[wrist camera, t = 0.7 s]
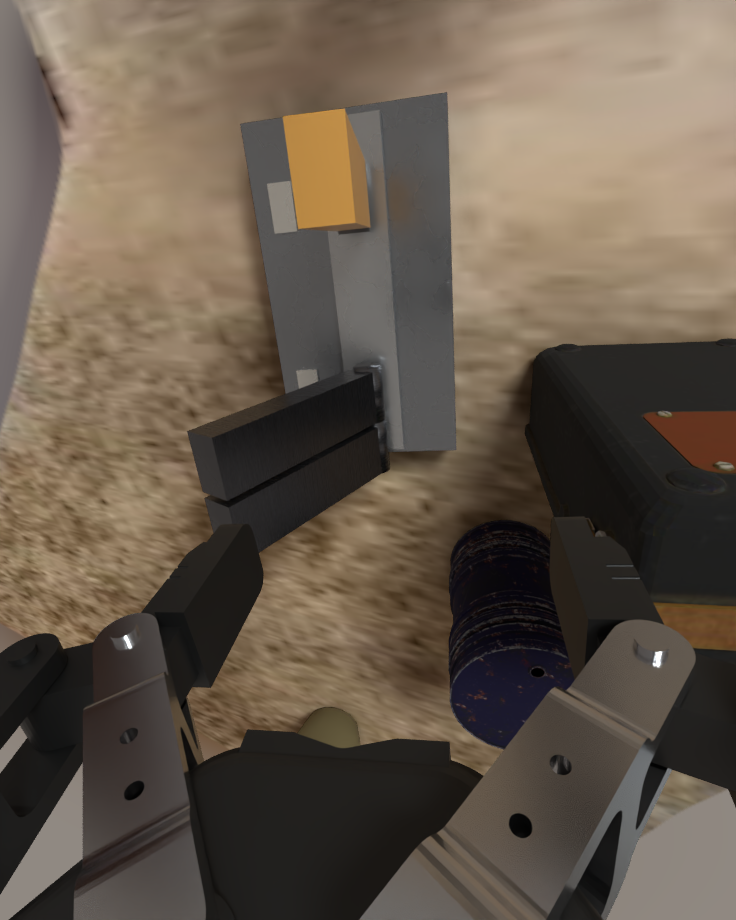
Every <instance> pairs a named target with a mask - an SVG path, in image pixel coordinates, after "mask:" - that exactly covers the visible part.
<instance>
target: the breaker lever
mask: <svg viewBox="0 0 736 920" xmlns="http://www.w3.org/2000/svg"><path fill="white" fill-rule="evenodd" d="M283 123H284V131H285V138H286V145H287V152H288V159H289V167H290V174H291V181H292V188H293V196H294V203H295V210H296V217H297V224H298V229H306V230H322V231H338V235H341V234H351V233H361V232H369V231H370V228H371V226H370V214H369V202H368V191H367V179H366V167H365V159H364V156H363V154H362V151H361V149H360V146H359V144H358V141H357V139H356V136H355V133H354V131H353V128H352V126H351V123H350V121H349V118H348V116H347V113H346V111H345V108H344V109H337V110H329V111H321V112H313V113H305V114H297V115H289V116H283Z"/></svg>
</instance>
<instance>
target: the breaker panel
mask: <svg viewBox="0 0 736 920" xmlns="http://www.w3.org/2000/svg"><path fill="white" fill-rule="evenodd" d="M341 109H344V108H341ZM335 110H337V109H335ZM328 111H329V110H328ZM345 111H346V113H347V116H348V118H349V121H350V123H351V126H352V128H353V131H354V133H355V136H356V139H357V141H358V144H359V146H360V149H361V151H362V154H363V156H364V159H365V167H366V179H367V191H368V202H369V214H370V226H371V228H370V231H369V232H361V233H351V234H341V235H338V231H322V230H306V229H298V224H297V217H296V210H295V203H294V196H293V188H292V181H291V174H290V167H289V159H288V152H287V145H286V138H285V131H284V123H283V117H282V118H276V119H269V120H263V121H256V122H250V123H243V124H240V125H241V131H242V137H243V143H244V149H245V155H246V161H247V167H248V173H249V179H250V184H251V190H252V196H253V202H254V208H255V214H256V220H257V226H258V232H259V238H260V244H261V250H262V256H263V262H264V268H265V274H266V280H267V285H268V291H269V297H270V303H271V309H272V315H273V321H274V327H275V333H276V339H277V345H278V351H279V357H280V363H281V369H282V375H283V380H284V386H285V392H286V394H284V395H281V396H279V397H276V398H273V399H271V400H268V401H265V402H263V403H260V404H258V405H255V406H252V407H250V408H247V409H244V410H242V411H239V412H237V413H234V414H231V415H229V416H226V417H223V418H221V419H218V420H216V421H213V422H210V423H208V424H205V425H202V426H200V427H197V428H194V429H192V430H189V431H187V432H188V436H189V440H190V444H191V448H192V452H193V455H194V459H195V463H196V467H197V471H198V475H199V479H200V482H201V486H202V490H203V492H205V493H207V494H210V496H208V497H206V498H205V502H206V505H207V509H208V513H209V517H210V521H211V525H212V529H213V532H215V531H216V530H217V528H218V527H219V526H220V525H222V524H249V525H250V526H251V528H252V531H253V534H254V538H255V542H256V545H257V549H258V553H259V552H261V551H262V550H264V549H265V548H267V547H268V546H270V545H271V544H273V543H275V542H276V541H278V540H279V539H281V538H282V537H284V536H285V535H287V534H288V533H290V532H292V531H293V530H295V529H296V528H298V527H299V526H301V525H302V524H304V523H306V522H307V521H309V520H310V519H312V518H313V517H315V516H316V515H318V514H319V513H321V512H323V511H324V510H326V509H327V508H329V507H330V506H332V505H333V504H335V503H336V502H338V501H340V500H341V499H343V498H344V497H346V496H347V495H349V494H350V493H352V492H354V491H355V490H357V489H358V488H360V487H361V486H363V485H364V484H366V483H367V482H369V481H371V480H372V479H374V478H375V477H377V476H378V475H380V474H382V473H385V472H387V471H388V470H389V469H390V461H389V452H401V451H439V450H456V417H455V377H454V338H453V298H452V259H451V219H450V180H449V140H448V102H447V92H446V93H439V94H433V95H426V96H420V97H413V98H406V99H400V100H393V101H387V102H380V103H374V104H367V105H361V106H354V107H348V108H345Z"/></svg>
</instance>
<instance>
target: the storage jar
mask: <svg viewBox="0 0 736 920" xmlns="http://www.w3.org/2000/svg"><path fill="white" fill-rule="evenodd" d="M449 593H450V605H451V610H452V614H453V625H452V628H451V632H450V637H449V674H450V704H451V708H452V711H453V713H454V715H455V717H456V719H457V720H458V722H459V723H460V724H461V725H462V727H463V728H464V729H465V730H466V731H468V732H469V733H470V734H471V735H473V736H474V737H476V738H477V739H479V740H481V741H482V742H485V743H487V744H489V745H491V746H494V747H497V748H500V749H505V748H506V747H507V745H508V744H509V743H510V741H511V740H512V739H513V738H514V736H515V735H516V734H517V732H518V731H519V730H520V728H521V727H522V726H523V725H524V723H525V722H526V721H527V719H528V718H529V717H530V716H531V714H532V713H533V712H534V710H535V709H536V708H537V706H538V705H539V704H540V703H541V701H542V700H543V699H544V697H545V696H546V695H547V694H548V692H549V691H550V690H551V689H553V688H554V687H557V686H559V687H561V688H562V689H564V690H567V689H568V688H569V687H570V686H571V685H572V683H573V682H574V681H575V679H574V676H573V672H572V668H571V664H570V660H569V656H568V653H567V649H566V645H565V641H564V637H563V633H562V629H561V626H560V622H559V618H558V614H557V610H556V606H555V603H554V599H553V595H552V590H551V583H550V540H549V539H548V538H547V537H546V536H545V535H544V534H543V533H542V532H541V531H539V530H537V529H536V528H534V527H532V526H530V525H528V524H525V523H521V522H517V521H511V520H499V521H491V522H487V523H484V524H481V525H479V526H476V527H474V528H473V529H471V530H469V531H468V532H467V533H465V534H464V535H463V536H462V537H461V538H460V539H459V541H458V542H457V544H456V545H455V547H454V549H453V552H452V555H451V571H450V576H449Z"/></svg>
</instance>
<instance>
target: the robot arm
mask: <svg viewBox="0 0 736 920" xmlns="http://www.w3.org/2000/svg"><path fill="white" fill-rule="evenodd" d="M550 583H551V590H552V595H553V599H554V603H555V606H556V610H557V614H558V618H559V622H560V626H561V629H562V633H563V637H564V641H565V645H566V649H567V653H568V656H569V660H570V664H571V668H572V672H573V676H574V679H575V681H574V682H573V683H572V685H571V686H570V687H569V688H568V689H567V690H564V689H562V688H561V687H559V686H557V687H554V688H553V689H551V690H550V691H549V692H548V694H547V695H546V696H545V697H544V699H543V700H542V701H541V703H540V704H539V705H538V706H537V708H536V709H535V710H534V712H533V713H532V714H531V716H530V717H529V718H528V719H527V721H526V722H525V723H524V725H523V726H522V727H521V728H520V730H519V731H518V732H517V734H516V735H515V736H514V738H513V739H512V740H511V741H510V743H509V744H508V745H507V747H506V748H505V749H504V750H503V752H502V753H501V754H500V756H499V757H498V758H497V760H496V761H495V762H494V763H493V765H492V766H491V767H490V769H489V770H488V771H487V773H486V774H485V775H484V776H483V775H481V774H480V773H478V772H476V771H475V770H473V769H471V768H469V767H467V766H465V765H463V764H460V763H458V762H455V761H452V760H451V755H450V744H449V742H443V741H427V740H410V739H392V740H387V741H381V742H376V743H371V744H365V745H360V746H354V747H349V748H338V747H335V746H332V745H329V744H326V743H323V742H320V741H317V740H315V739H312V738H309V737H306V736H303V735H300V734H297V733H294V732H280V731H263V730H247V732H246V734H245V737H244V739H243V742H242V744H241V747H239V748H235V749H232V750H228V751H225V752H223V753H221V754H218V755H216V756H213V757H211V758H210V759H208V760H206V761H204V759H203V755H202V751H201V747H200V743H199V739H198V735H197V730H196V726H195V722H194V718H193V714H192V710H191V706H190V703H189V700H188V698H187V695H188V693H189V691H190V690H191V688H192V687H206V688H211V686H212V685H213V683H214V681H215V679H216V677H217V675H218V673H219V671H220V669H221V667H222V665H223V663H224V661H225V659H226V657H227V655H228V654H229V652H230V650H231V648H232V646H233V644H234V642H235V640H236V638H237V636H238V634H239V632H240V630H241V628H242V626H243V624H244V623H245V621H246V619H247V617H248V615H249V613H250V611H251V609H252V607H253V605H254V603H255V601H256V599H257V597H258V595H259V593H260V591H261V589H262V585H263V568H262V564H261V560H260V557H259V553H258V549H257V545H256V542H255V538H254V534H253V531H252V528H251V526H250V525H249V524H222V525H220V526H219V527H218V528H217V530H216V531H215V532H214V534H213V535H212V536H211V537H210V539H209V540H208V541H207V542H203V543H202V544H200V545H199V546H197V547H196V548H195V549H193V550H192V551H190V552H189V553H188V554H187V555H186V556H185V558H184V559H183V560H182V561H181V563H180V564H179V565H178V569H175V570H174V572H173V573H172V574H171V575H170V579H167V580H166V582H165V583H164V584H163V585H162V587H161V588H160V589H159V591H158V592H157V593H156V594H155V596H154V597H153V598H152V599H151V601H150V602H149V603H148V604H147V606H146V607H145V608H144V609H143V611H142V612H141V613H135V614H131V615H127V616H124V617H122V618H120V619H118V620H116V621H114V622H112V623H111V624H109V625H108V626H107V627H105V628H104V629H103V630H102V631H101V632H100V633H99V634H98V636H97V637H96V638H95V640H94V642H93V643H89V644H84V645H80V646H75V647H71V648H67V649H63V647H62V645H61V643H60V642H59V640H58V638H57V637H56V636H55V635H53V634H48V633H43V634H37V635H33V636H30V637H27V638H24V639H22V640H20V641H18V642H16V643H14V644H13V645H11V646H10V647H8V648H7V649H5V650H4V651H3V652H1V653H0V749H1V748H2V747H3V746H4V744H5V743H6V742H7V741H8V739H9V738H10V737H11V736H12V734H13V733H14V732H15V731H16V729H17V728H18V727H19V726H21V728H22V729H23V731H24V733H25V734H26V736H27V739H26V740H25V742H24V743H23V744H22V746H21V747H20V748H19V750H18V751H17V752H16V754H15V755H14V756H13V758H12V759H11V760H10V761H9V763H8V764H7V765H6V767H5V768H4V769H3V771H2V772H1V773H0V894H1V893H2V891H3V889H4V887H5V886H6V885H7V883H8V881H9V880H10V878H11V876H12V875H13V873H14V872H15V870H16V868H17V867H18V865H19V864H20V862H21V860H22V859H23V857H24V855H25V854H26V852H27V851H28V849H29V848H30V846H31V844H32V843H33V841H34V840H35V838H36V836H37V835H38V833H39V831H40V830H41V828H42V827H43V825H44V823H45V822H46V820H47V819H48V817H49V815H50V814H51V812H52V811H53V809H54V807H55V806H56V804H57V802H58V801H59V799H60V798H61V796H62V795H63V793H64V791H65V790H66V788H67V786H68V785H69V783H70V782H71V780H72V778H73V777H74V775H75V773H76V772H77V770H78V769H79V767H80V766H81V764H82V763H83V859H82V860H81V861H79V862H78V863H77V864H76V865H74V866H73V867H72V868H71V869H70V870H68V871H67V872H66V873H65V874H64V875H62V876H61V877H60V878H59V879H58V880H56V881H55V882H54V883H53V884H51V885H50V886H49V887H48V888H47V889H45V890H44V891H43V892H42V893H40V894H39V895H38V896H37V897H36V898H35V899H33V900H32V901H31V902H30V903H28V904H27V905H26V906H25V907H24V908H22V909H21V910H20V911H19V912H17V913H16V914H15V915H14V916H13V917H11V918H10V919H9V920H606V919H607V917H608V915H609V913H610V911H611V909H612V906H613V904H614V902H615V900H616V898H617V896H618V893H619V891H620V888H621V886H622V884H623V881H624V878H625V876H626V873H627V870H628V867H629V864H630V861H631V857H632V855H633V852H634V849H635V847H636V844H637V842H638V840H639V838H640V836H641V833H642V831H643V829H644V827H645V825H646V823H647V821H648V819H649V817H650V815H651V813H652V810H653V808H654V806H655V804H656V802H657V800H658V798H659V796H660V794H661V792H662V790H663V787H664V785H665V783H666V781H667V779H668V777H669V775H670V773H671V771H672V770H675V771H678V772H681V773H684V774H687V775H689V776H692V777H695V778H698V779H701V780H704V781H707V782H709V783H712V784H715V785H718V786H721V787H724V788H727V789H728V790H729V792H730V794H731V797H732V799H733V802H734V804H735V807H736V665H735V664H731V663H727V662H723V661H719V660H715V659H712V658H708V657H706V656H703V655H701V654H698V653H696V652H694V650H693V648H692V646H691V644H690V643H689V642H688V641H687V640H686V639H685V638H684V637H683V636H682V635H681V634H680V633H678V632H677V631H675V630H673V629H672V628H670V627H668V626H665V625H664V623H663V621H662V619H661V617H660V615H659V613H658V611H657V609H656V607H655V605H654V603H653V601H652V600H651V598H650V596H649V594H648V592H647V590H646V588H645V586H644V584H643V582H642V580H640V576H639V574H638V572H637V570H636V568H635V567H633V563H632V561H631V559H630V557H629V555H628V553H627V551H626V549H625V548H623V547H622V546H621V545H620V544H618V543H617V542H616V541H615V540H613V539H612V538H611V537H610V536H603V537H594V536H593V534H592V532H591V529H590V527H589V525H588V522H587V520H586V518H585V517H584V516H582V517H553V518H552V521H551V540H550Z"/></svg>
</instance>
